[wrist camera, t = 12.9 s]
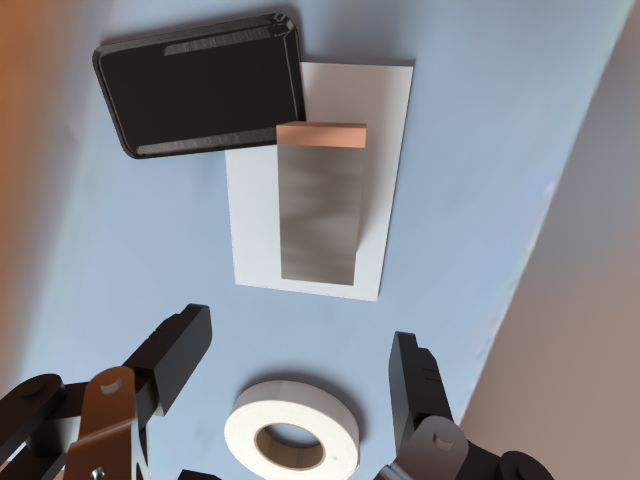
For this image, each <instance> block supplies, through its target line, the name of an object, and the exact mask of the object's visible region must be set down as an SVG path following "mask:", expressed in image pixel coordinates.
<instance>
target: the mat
mask: <svg viewBox="0 0 640 480" xmlns="http://www.w3.org/2000/svg"><path fill="white" fill-rule="evenodd" d="M300 69H301V77H302V85H303V93H304V102H305V110H306V118H307V122H333V123H362V124H367V129H366V141H365V153H364V165H363V177H362V189H361V201H360V213H359V225H358V237H357V249H356V262H355V274H354V286H349V285H339V284H329V283H319V282H308V281H298V280H288V279H281V251H280V220H279V189H278V159H277V145H270V146H261V147H251V148H242V149H232V150H225V158H226V171H227V184H228V197H229V210H230V223H231V236H232V248H233V261H234V274H235V284H241V285H249V286H257V287H265V288H273V289H281V290H289V291H297V292H305V293H313V294H321V295H329V296H337V297H345V298H353V299H361V300H369V301H377V297H378V291H379V284H380V278H381V272H382V265H383V259H384V252H385V246H386V239H387V233H388V227H389V220H390V214H391V207H392V201H393V195H394V188H395V182H396V175H397V169H398V162H399V156H400V150H401V143H402V137H403V130H404V124H405V117H406V111H407V105H408V98H409V92H410V85H411V79H412V72H413V67H405V66H380V65H356V64H331V63H307V62H300Z"/></svg>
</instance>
